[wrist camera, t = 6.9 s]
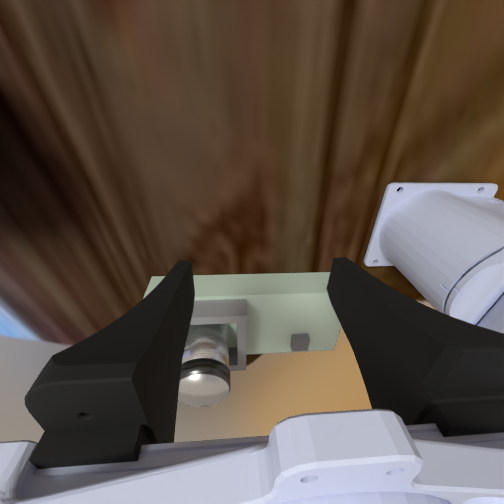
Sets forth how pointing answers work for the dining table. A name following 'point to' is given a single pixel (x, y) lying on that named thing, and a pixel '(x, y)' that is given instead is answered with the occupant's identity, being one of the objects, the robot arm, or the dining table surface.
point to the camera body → (266, 312)
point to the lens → (205, 366)
